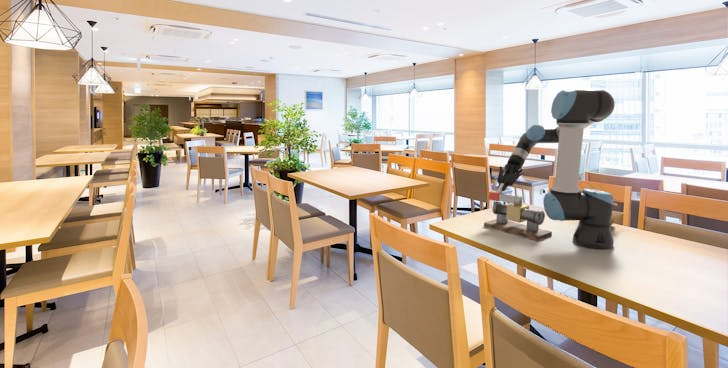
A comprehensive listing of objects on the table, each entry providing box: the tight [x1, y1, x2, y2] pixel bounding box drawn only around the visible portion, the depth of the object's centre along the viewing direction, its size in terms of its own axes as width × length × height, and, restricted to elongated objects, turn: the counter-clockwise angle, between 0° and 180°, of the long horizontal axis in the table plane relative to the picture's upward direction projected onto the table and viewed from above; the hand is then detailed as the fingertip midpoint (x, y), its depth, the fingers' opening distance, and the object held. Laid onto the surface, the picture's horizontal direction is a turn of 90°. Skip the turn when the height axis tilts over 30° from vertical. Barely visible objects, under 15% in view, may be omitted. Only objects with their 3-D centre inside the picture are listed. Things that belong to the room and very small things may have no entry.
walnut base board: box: [483, 218, 553, 242], centre depth 186 cm, size 28×12×2 cm, turn 37°
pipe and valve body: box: [492, 201, 546, 233], centre depth 184 cm, size 23×7×10 cm, turn 37°
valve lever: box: [488, 191, 524, 206], centre depth 188 cm, size 17×4×4 cm, turn 39°
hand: (497, 195), depth 194 cm, fingers closed
